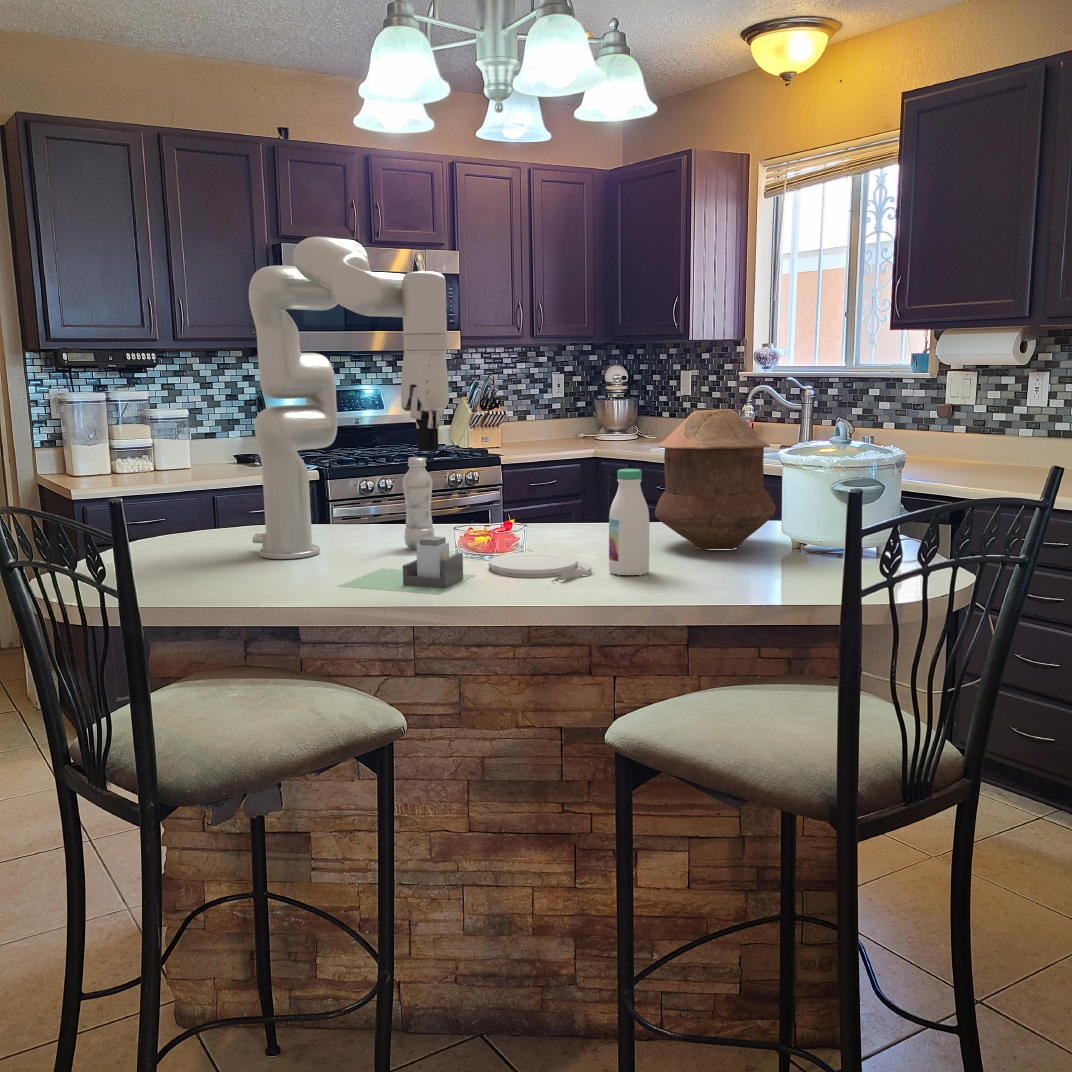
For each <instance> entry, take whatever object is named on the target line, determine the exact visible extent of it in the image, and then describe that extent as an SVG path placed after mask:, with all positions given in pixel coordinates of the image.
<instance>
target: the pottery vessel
mask: <svg viewBox="0 0 1072 1072" xmlns="http://www.w3.org/2000/svg"><path fill="white" fill-rule="evenodd" d="M770 447H771V445H770V444H769V442H767V441H766V440H765V439H763V438H762V437H761V436H760V435H759V434H758V433H757V431H755V430H754V429H753V427H752V426H750V425H749V423H748V422H747V421H746V420H745V419H744V418H743V417H742V416H741V415H740V414H738V413H737V412H736V411H735V410H733V409H732V408H723V409H722V408H721V409H720V408H719V409H718V408H717V409H707V410H706V409H705V410H703V409H702V410H696V411H693V412H692V413H690V414H689V415H688V416H687V417H686V418H685V419H684V420H683V421H682V422H681V423H680V424H679V425H678V426H677V427H676V428H675V429H674V430H673V431H672V432H671V433H670V434H669V435H668V436H667V437H666V438H665V439H663V440H662V441H661V442H660V443H659V444H658V448H663V449H664V452H663V453H664V463H663V464H664V480H665V481H664V482H665V483H664V485H665V486H664V488H665V490H664V491H663V493H662V494H661V496H660V497H659V499H658V502H657V504H656V508H655V511H654V515H655V518H656V519H657V520H658V521H660V522H661V523H662V524H663V525H665V526H666V527H668V528H669V529H671V530H672V531H673V532H675V533H676V534H677V535H679V536H680V537H682V538H684V539H685V540H687V541H688V542H690V543H692V544H693V545H694V546H693V545H692V546H693V547H694V548H695V547H697V548H696V549H698V548H701V549H700V550H702V549H734V548H738V549H740V546H741V545H742V544H743V542H744V541H746V540H747V539H748V538H749V537H750V536H751V535H753V534H754V533H755V532H756V531H758V530H759V529H760V528H761V527H763V526H764V525H765V524H766V523H767V522H768V521H770V520H771V518H773V517H774V515H775V514H776V505H775V503H774V501H773V499H772V497H771V495H770V494H769V493H768V491H767V490H766V489H765V488H764V475H765V474H764V457H765V456H764V451H765V450H764V448H770Z"/></svg>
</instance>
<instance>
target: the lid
mask: <svg viewBox="0 0 1072 1072" xmlns="http://www.w3.org/2000/svg"><path fill="white" fill-rule="evenodd" d="M488 567H489V568H490V571H492V572H493V573H495V574H498V575H500V576H506V577H514V578H515V577H516V578H545V577H546V578H548V577H555V579H553V580H552V581H551V582H553V581H558V580H564V579H568V578H571V577H576V578H579V577H578V576H583V575H589V574H590V573H591V574H592V566H591V565H590V564H587V563H585V562H580V561H578V559H577V557H574V556H572V555H570V554H564V553H559V552H548V551H547V552H546V551H544V552H543V551H525V552H523V551H521V552H512V553H506V554H505V553H504V554H500V555H497V556H494V557H492V558H490V559H489V561H488ZM591 574H590V575H591ZM590 575H589V576H590ZM556 577H557V578H556ZM571 579H572V578H571ZM568 580H569V579H568ZM564 581H565V580H564ZM553 583H554V582H553Z"/></svg>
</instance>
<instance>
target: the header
mask: <svg viewBox="0 0 1072 1072" xmlns="http://www.w3.org/2000/svg"><path fill="white" fill-rule="evenodd" d="M463 557H464V556H463V552H456V553H454V554H453V555H449V557H448V558H445V559H443V560H441V578H432V577H418V576H417V559H415V560H413V561H410V562H408V563H405V564H403V565H402V570H403V585H407V586H420V587H433V588H448V587H450V586H452V585H454V584H456V583H458V582H460V581H462V580H463V574H464V562H463V561H464V558H463Z"/></svg>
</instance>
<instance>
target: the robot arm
mask: <svg viewBox="0 0 1072 1072" xmlns="http://www.w3.org/2000/svg"><path fill="white" fill-rule="evenodd" d="M368 257H369V256H368V254H367V251H366V250H365V248H364V247H363V246H362V244H360V243H358V242H357V241H355V240H352V239H348V238H347V239H346V238H337V237H326V236H311V237H307V238H305V239H303V240H301V241H300V242H298V243H297V244H296V247H295V248H294V251H293V255H292V259H293V265H268V266H265V267H264V266H263V267H262V268H259V269H258V270H257V271H255V272H254V274H253V275H252V277H251V280H250V282H249V286H248V303H249V308H250V312H251V315H252V318H253V322H254V326H255V331H256V332H255V333H256V343H257V346H256V347H257V363H258V375H259V384H260V389H261V391H262V393H263V394H264V396H266V397H267V398H270V399H276V400H290V399H291V400H292V399H293V400H294V399H305V404H299V405H298V404H290V405H287V404H285V405H284V404H283V405H274V406H269V407H266V408H264V409H262V410H261V411H260V412H259V413H257V416H255V420H254V434H255V438H256V442H257V446H258V447H257V448H258V451H259V456H260V461H261V474H262V476H261V477H262V486H263V487H262V489H263V504H264V509H263V510H264V522H265V523H264V525H265V532H264V533H259V532H257V533H255V534H254V536H253V537H252V541H251V542H252V543H253V544H262V546H261V547H262V548H260V549H259V556H260V557H262V558H264V559H269V560H271V559H272V560H292V559H293V560H294V559H301V558H302V559H303V558H309V557H313V556H316V555H318V554H319V553H320V552H321V549H320V548H321V547H320V546H318V544H313V534H312V515H311V513H312V512H311V497H310V492H311V491H310V475H309V470H308V467H307V465H306V463H305V461H304V460H303V458H302V457H301V456H300V454H299V453H298V451H305V450H315V449H324V448H328V447H330V446H331V445H332V444H333V443H334V442H335V440H336V437H337V435H338V434H337V433H338V411H337V410H338V409H337V408H338V407H337V385H336V375H335V371H334V368H333V365H332V363H331V362H330V361H329V359H328V358H327V357H326V356H325V355H323V354H320V353H317V352H301V346H300V332H299V328H298V326H297V324H296V323H295V321H294V319H293V318H292V316H290V315H291V314H289V312H288V311H287V310H297V311H299V310H300V311H301V310H302V311H303V310H304V311H305V310H306V311H328V310H331V309H333V308H335V307H337V305H340V306H341V307H343V308H344V309H345V308H346V309H347V310H350V311H351V312H354V313H356V314H358V315H361V316H367V317H388V318H391V317H392V318H402V327H403V328H402V329H403V330H402V331H403V332H402V333H403V359H402V365H401V367H402V368H401V380H400V381H401V385H400V388H401V389H400V392H401V393H400V394H401V395H400V398H401V401H400V402H401V403H400V405H401V409H402V410H403V411H405V412H409V414H410V415H409V416H410V419H413V420H415V425H416V429H417V450H418V451H419V452H437V451H439V427H440V417H442V416H443V415H444V413H445V412H444V410H445V409H446V408H447V407H448V405H449V395H450V394H449V378H448V376H449V375H448V368H447V367H448V366H447V357H446V354H448V331H447V329H448V328H447V327H448V325H447V323H448V322H447V321H448V320H447V318H448V317H447V285H446V282H447V281H446V278H445V276H444V275H443V274H442V273H440V272H435V271H412V272H411V271H410V272H406V273H395V272H394V273H393V272H380V271H378V272H377V271H371V267H370V263H369V258H368Z"/></svg>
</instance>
